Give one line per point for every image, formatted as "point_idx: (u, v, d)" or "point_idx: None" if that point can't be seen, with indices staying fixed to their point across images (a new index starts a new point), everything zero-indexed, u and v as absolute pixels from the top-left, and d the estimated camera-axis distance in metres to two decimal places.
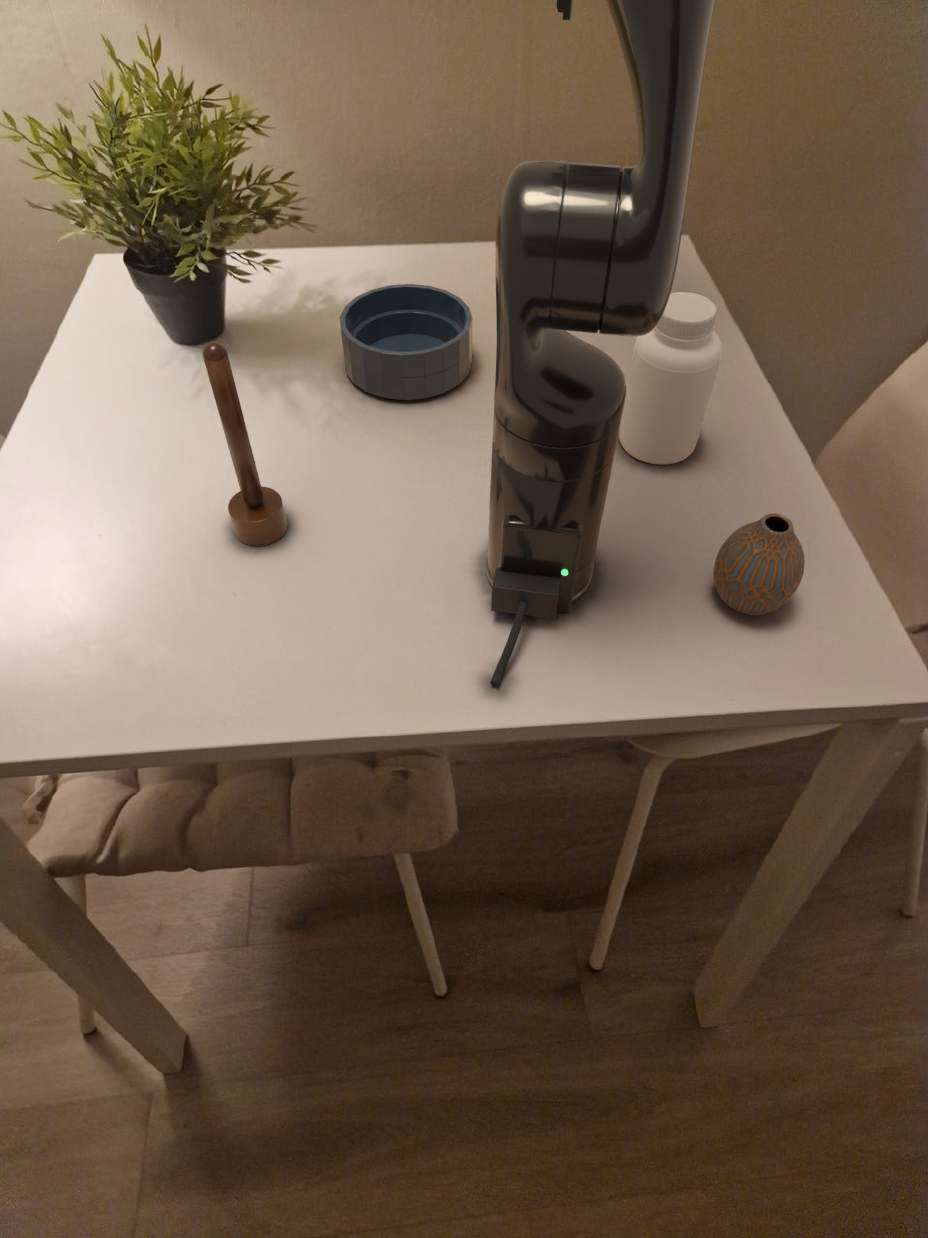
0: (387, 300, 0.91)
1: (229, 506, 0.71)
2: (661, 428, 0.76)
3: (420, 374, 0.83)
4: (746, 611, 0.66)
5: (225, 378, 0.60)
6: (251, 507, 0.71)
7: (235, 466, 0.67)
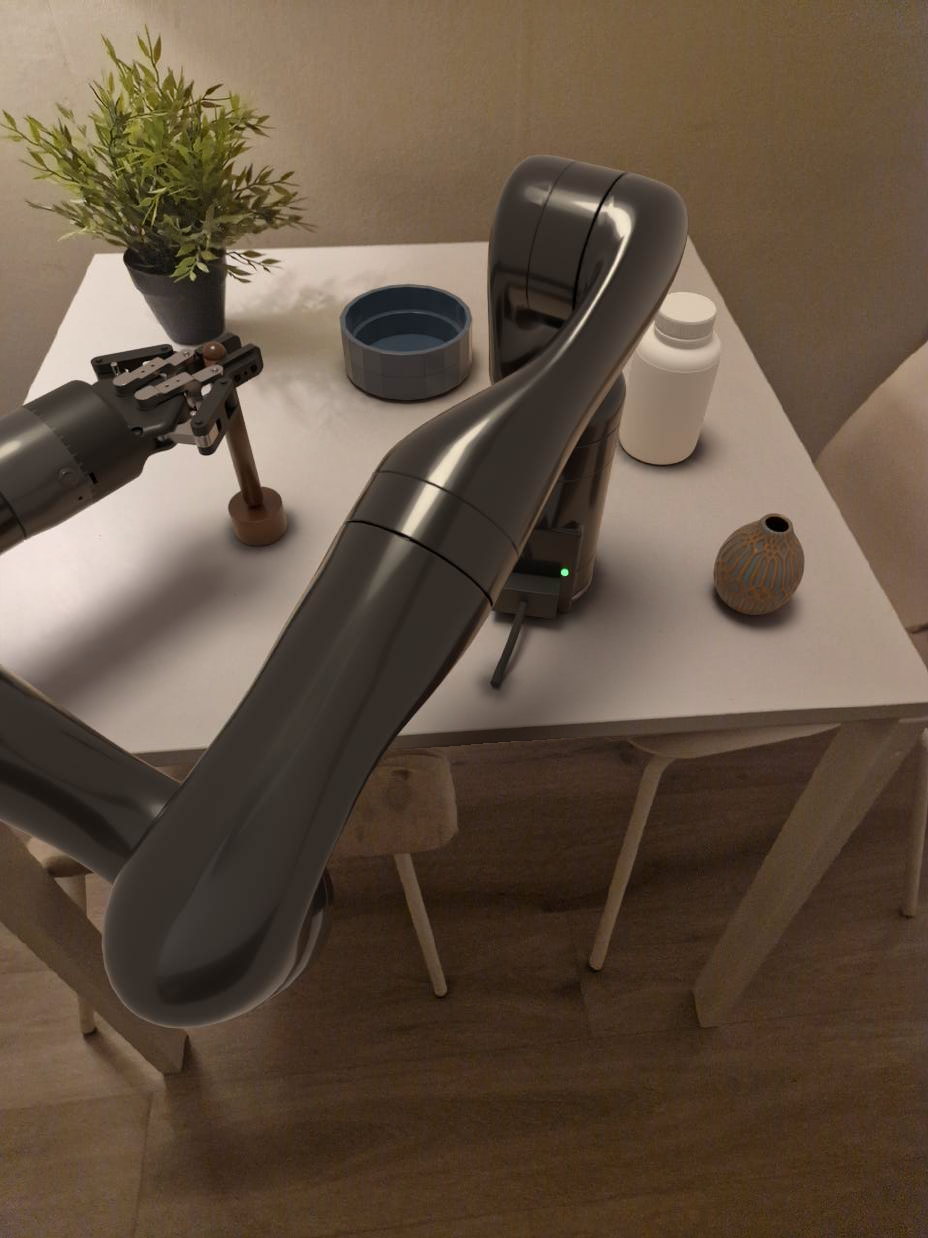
0: (387, 300, 0.91)
1: (229, 506, 0.71)
2: (661, 428, 0.76)
3: (420, 374, 0.83)
4: (746, 611, 0.66)
5: None
6: (251, 507, 0.71)
7: (235, 466, 0.67)
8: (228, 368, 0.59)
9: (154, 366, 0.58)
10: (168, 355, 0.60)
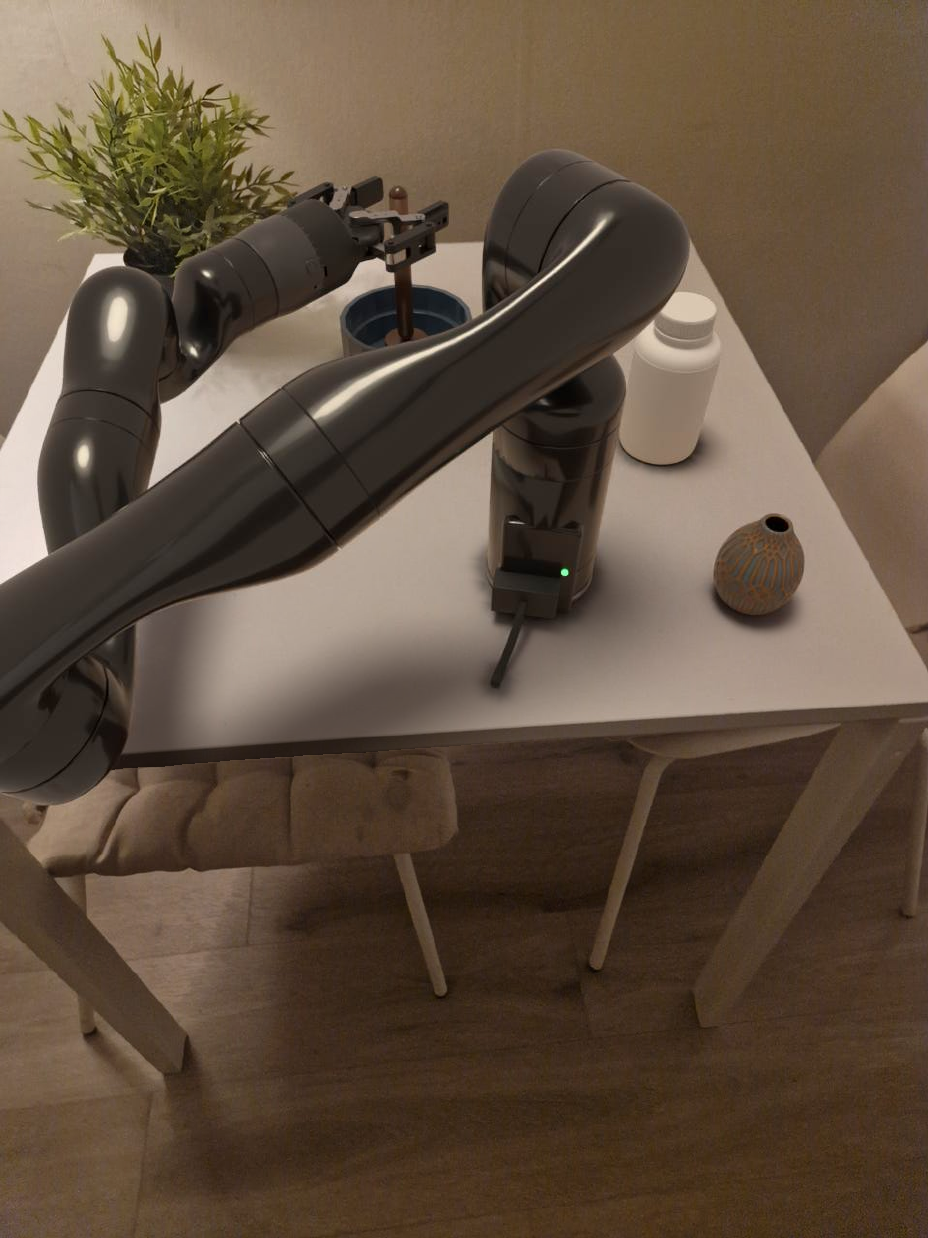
0: (387, 300, 0.91)
1: (385, 340, 0.87)
2: (661, 428, 0.76)
3: None
4: (746, 611, 0.66)
5: None
6: (404, 340, 0.87)
7: (398, 299, 0.83)
8: (427, 217, 0.74)
9: (342, 195, 0.74)
10: (330, 190, 0.77)
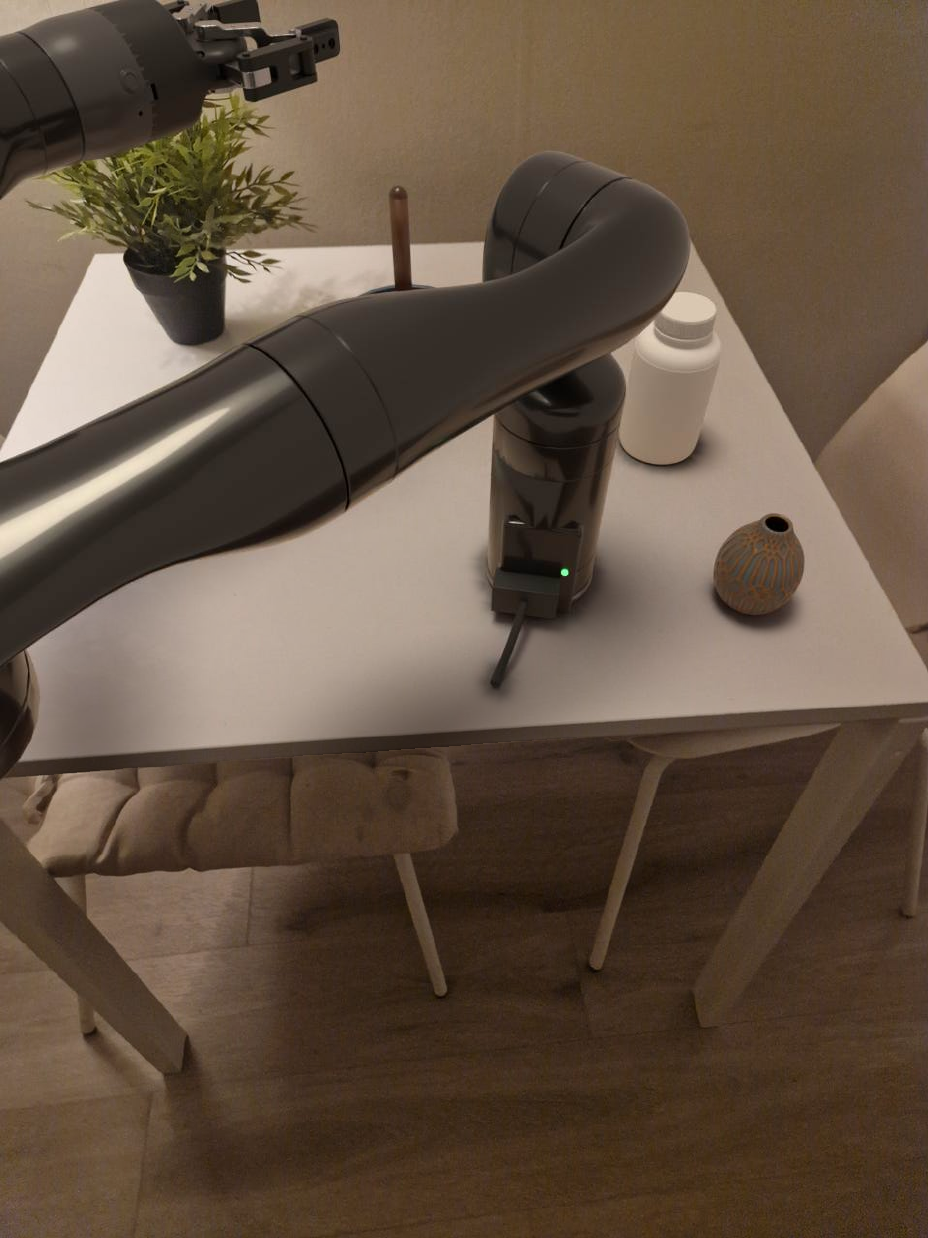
0: None
1: None
2: (661, 428, 0.76)
3: None
4: (746, 611, 0.66)
5: (404, 216, 0.77)
6: None
7: None
8: (306, 36, 0.55)
9: (193, 8, 0.56)
10: None
